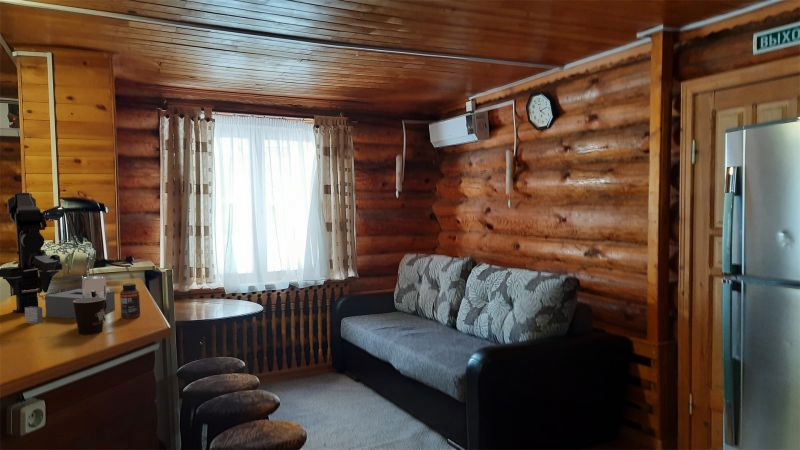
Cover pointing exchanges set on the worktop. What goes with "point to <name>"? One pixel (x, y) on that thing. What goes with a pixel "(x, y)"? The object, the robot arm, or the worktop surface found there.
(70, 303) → the coin box
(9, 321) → the worktop surface
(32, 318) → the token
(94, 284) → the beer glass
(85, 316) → the coffee mug
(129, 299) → the supplement bottle
